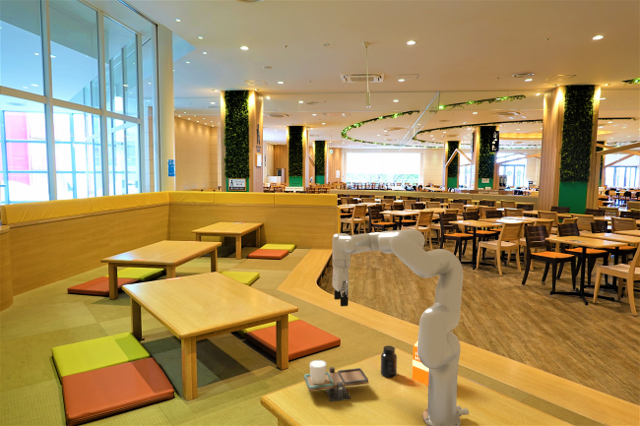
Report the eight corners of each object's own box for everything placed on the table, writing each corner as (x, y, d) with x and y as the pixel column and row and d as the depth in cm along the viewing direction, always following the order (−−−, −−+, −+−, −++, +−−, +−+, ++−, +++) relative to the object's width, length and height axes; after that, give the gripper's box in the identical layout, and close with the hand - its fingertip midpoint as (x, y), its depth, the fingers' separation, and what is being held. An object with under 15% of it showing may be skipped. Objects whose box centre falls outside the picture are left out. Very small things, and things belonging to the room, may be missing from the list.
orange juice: (412, 378, 163) (413, 333, 162) (423, 372, 169) (424, 328, 168) (428, 386, 158) (429, 338, 156) (439, 378, 164) (440, 333, 162)
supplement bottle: (378, 371, 170) (378, 345, 169) (391, 369, 172) (392, 343, 171) (385, 379, 163) (385, 351, 162) (399, 377, 165) (400, 349, 164)
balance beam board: (360, 371, 161) (360, 367, 161) (368, 383, 151) (368, 379, 151) (304, 378, 156) (304, 374, 156) (308, 391, 146) (308, 387, 146)
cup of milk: (328, 377, 154) (328, 360, 154) (325, 385, 148) (325, 368, 147) (311, 375, 156) (311, 358, 155) (307, 384, 149) (307, 366, 149)
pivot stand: (340, 380, 162) (340, 365, 161) (350, 399, 147) (351, 383, 147) (321, 382, 160) (321, 367, 160) (330, 401, 146) (330, 385, 145)
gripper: (327, 259, 170) (327, 297, 171) (338, 267, 153) (337, 309, 154) (344, 258, 171) (343, 296, 173) (356, 266, 155) (355, 308, 156)
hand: (340, 302), depth 163 cm, fingers open, 9 cm apart
